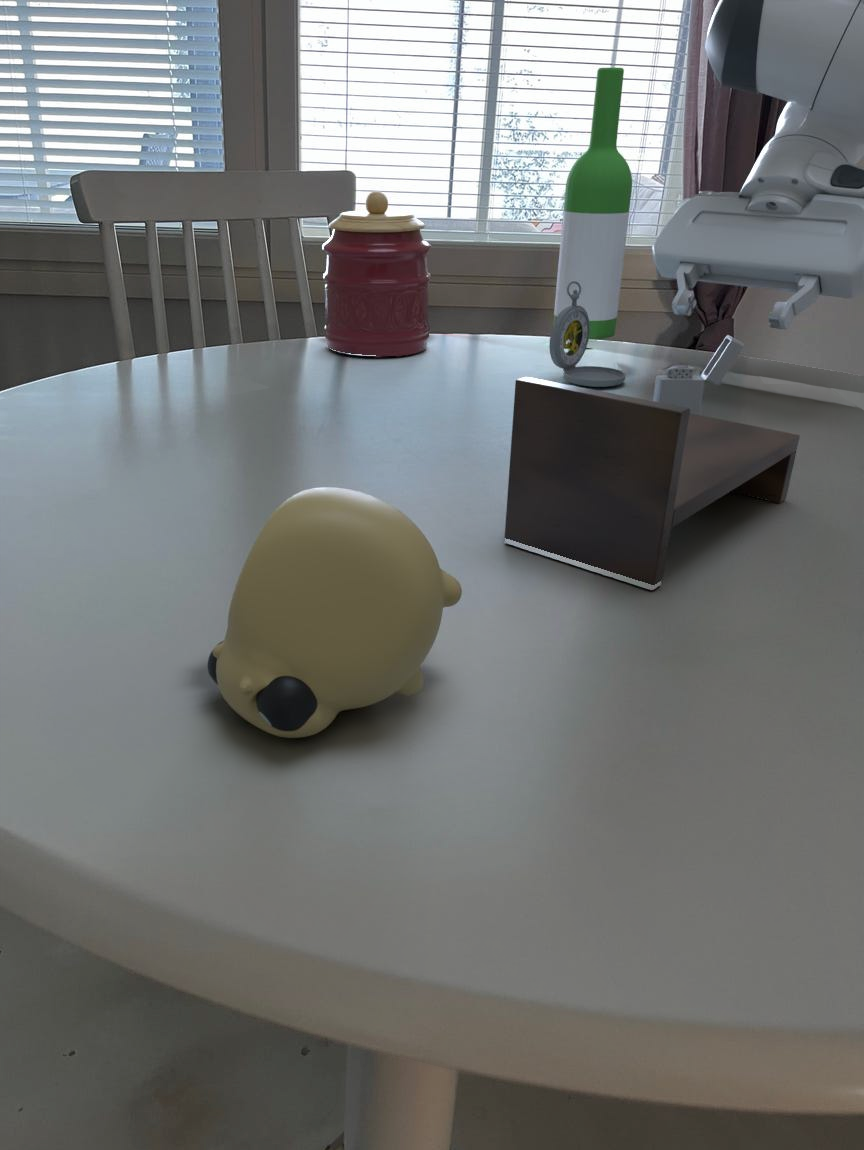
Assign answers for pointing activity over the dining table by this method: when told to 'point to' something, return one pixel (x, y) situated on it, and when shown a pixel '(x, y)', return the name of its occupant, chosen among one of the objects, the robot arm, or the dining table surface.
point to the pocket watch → (578, 347)
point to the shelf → (626, 473)
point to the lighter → (695, 378)
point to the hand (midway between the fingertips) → (727, 317)
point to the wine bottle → (596, 216)
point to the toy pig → (330, 612)
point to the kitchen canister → (377, 282)
